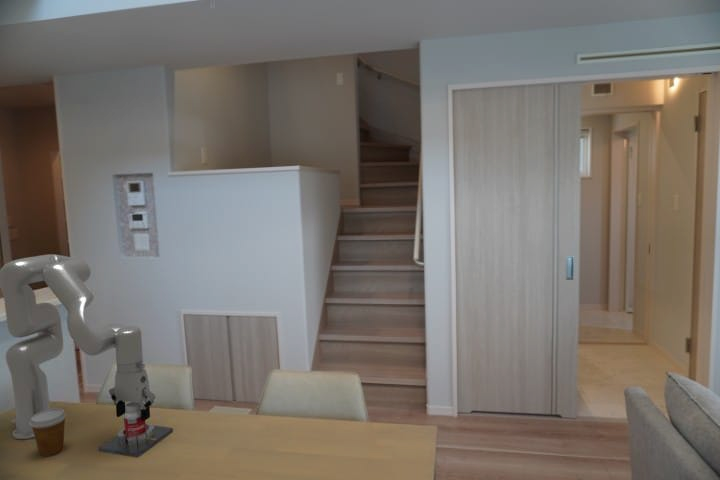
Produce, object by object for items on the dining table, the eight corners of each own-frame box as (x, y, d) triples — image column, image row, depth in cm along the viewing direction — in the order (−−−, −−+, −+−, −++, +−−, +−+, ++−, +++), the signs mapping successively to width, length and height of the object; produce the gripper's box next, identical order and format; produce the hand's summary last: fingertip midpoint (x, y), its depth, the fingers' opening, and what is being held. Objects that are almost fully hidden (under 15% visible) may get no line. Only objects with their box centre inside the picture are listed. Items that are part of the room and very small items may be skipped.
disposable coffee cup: (76, 446, 153) (72, 410, 152) (45, 462, 144) (41, 424, 143) (56, 440, 157) (53, 405, 156) (26, 456, 148) (22, 418, 147)
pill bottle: (127, 444, 151) (124, 410, 150) (124, 436, 156) (121, 403, 155) (148, 438, 154) (145, 405, 153) (144, 430, 159) (142, 398, 158)
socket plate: (98, 450, 150) (97, 439, 150) (136, 426, 165) (135, 415, 165) (137, 457, 146) (136, 445, 145) (173, 431, 161) (172, 420, 160)
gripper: (160, 364, 154) (163, 415, 156) (117, 359, 159) (120, 408, 161) (143, 373, 147) (147, 426, 149) (98, 367, 152) (102, 418, 154)
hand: (133, 417), depth 155 cm, fingers open, 9 cm apart
